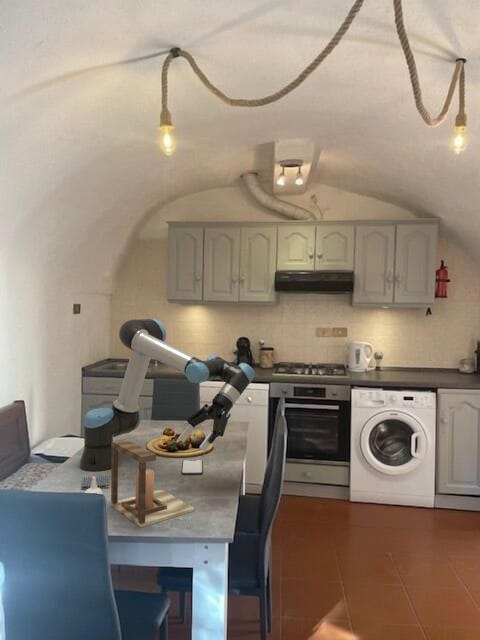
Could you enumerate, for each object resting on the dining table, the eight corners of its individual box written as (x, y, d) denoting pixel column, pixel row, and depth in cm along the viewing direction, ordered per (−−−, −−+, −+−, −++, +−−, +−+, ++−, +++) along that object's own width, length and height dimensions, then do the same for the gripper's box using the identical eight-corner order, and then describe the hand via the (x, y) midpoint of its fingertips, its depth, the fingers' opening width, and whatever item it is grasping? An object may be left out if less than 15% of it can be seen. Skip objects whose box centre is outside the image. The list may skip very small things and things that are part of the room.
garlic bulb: (82, 503, 171) (81, 481, 170) (86, 495, 178) (86, 473, 177) (100, 503, 172) (100, 481, 171) (104, 495, 178) (104, 473, 177)
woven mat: (110, 480, 194) (110, 475, 194) (109, 490, 184) (109, 484, 184) (82, 481, 192) (82, 476, 192) (80, 492, 182) (80, 486, 182)
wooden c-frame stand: (110, 505, 169) (111, 441, 168) (161, 492, 182) (162, 432, 181) (140, 527, 153) (141, 456, 152) (194, 511, 166) (195, 445, 165)
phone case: (202, 476, 201) (202, 463, 217) (203, 472, 201) (202, 459, 216) (180, 477, 200) (182, 463, 216) (181, 473, 200) (182, 459, 216)
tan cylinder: (132, 506, 166) (132, 471, 165) (147, 502, 170) (148, 467, 169) (140, 512, 161) (141, 476, 161) (156, 508, 165) (157, 472, 165)
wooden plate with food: (142, 441, 248) (142, 425, 248) (204, 436, 258) (204, 421, 258) (151, 463, 218) (151, 444, 217) (221, 456, 228) (221, 438, 227)
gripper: (252, 411, 178) (217, 460, 169) (211, 399, 197) (178, 442, 188) (241, 398, 174) (205, 447, 166) (201, 387, 194) (166, 430, 185)
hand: (191, 444), depth 177 cm, fingers open, 13 cm apart
